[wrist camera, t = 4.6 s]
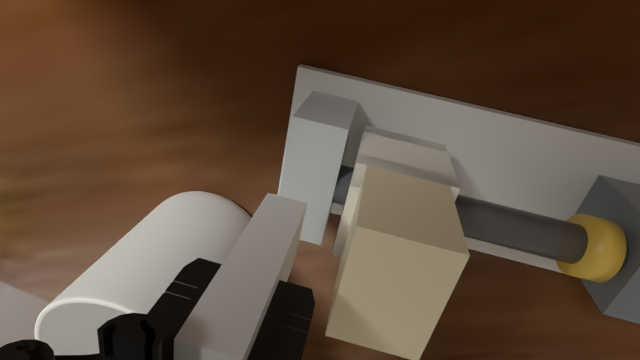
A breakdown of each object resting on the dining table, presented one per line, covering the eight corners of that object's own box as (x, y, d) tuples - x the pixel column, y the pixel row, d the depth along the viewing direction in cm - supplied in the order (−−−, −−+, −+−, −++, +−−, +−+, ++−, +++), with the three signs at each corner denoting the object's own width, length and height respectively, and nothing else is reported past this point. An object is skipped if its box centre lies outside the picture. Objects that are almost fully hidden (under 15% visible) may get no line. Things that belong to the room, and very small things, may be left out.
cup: (264, 193, 24) (186, 314, 15) (273, 328, 29) (219, 476, 20) (145, 181, 25) (6, 287, 16) (174, 313, 30) (83, 446, 21)
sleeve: (343, 203, 20) (313, 332, 13) (364, 125, 18) (342, 222, 10) (416, 222, 20) (429, 365, 12) (445, 144, 18) (484, 259, 10)
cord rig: (280, 192, 23) (247, 250, 18) (301, 64, 20) (267, 89, 14) (604, 276, 22) (671, 365, 17) (694, 155, 18) (815, 221, 13)
